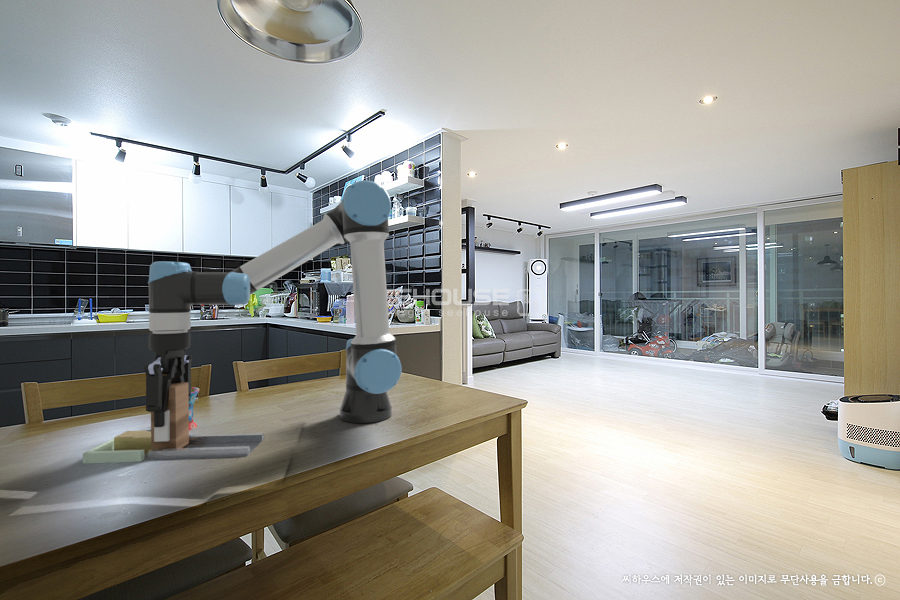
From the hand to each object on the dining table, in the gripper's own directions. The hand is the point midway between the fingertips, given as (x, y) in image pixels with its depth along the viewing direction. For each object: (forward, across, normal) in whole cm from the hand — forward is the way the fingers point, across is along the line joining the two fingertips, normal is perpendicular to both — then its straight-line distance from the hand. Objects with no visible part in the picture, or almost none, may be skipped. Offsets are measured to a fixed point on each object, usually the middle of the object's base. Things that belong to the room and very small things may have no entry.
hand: (170, 435), depth 87 cm
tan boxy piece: (+3, 0, -4) cm, 6 cm away
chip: (+3, 0, -8) cm, 9 cm away
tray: (+4, 0, -8) cm, 9 cm away
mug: (+4, -16, -7) cm, 18 cm away
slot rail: (+4, 0, +8) cm, 9 cm away
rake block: (+3, 0, 0) cm, 3 cm away
